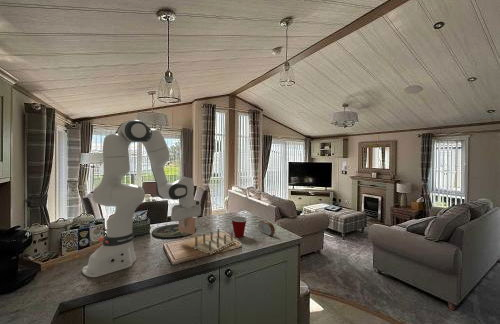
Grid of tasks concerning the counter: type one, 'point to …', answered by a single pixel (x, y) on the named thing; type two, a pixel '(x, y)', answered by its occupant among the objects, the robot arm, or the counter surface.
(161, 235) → the decorative plate
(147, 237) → the counter surface
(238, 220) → the plastic cup
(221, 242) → the dish rack
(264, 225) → the tin
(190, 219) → the terracotta tile
